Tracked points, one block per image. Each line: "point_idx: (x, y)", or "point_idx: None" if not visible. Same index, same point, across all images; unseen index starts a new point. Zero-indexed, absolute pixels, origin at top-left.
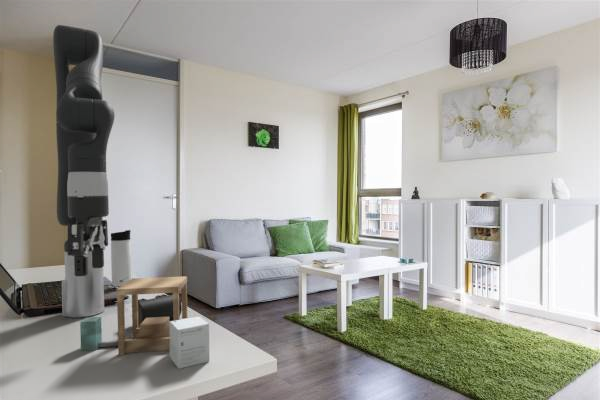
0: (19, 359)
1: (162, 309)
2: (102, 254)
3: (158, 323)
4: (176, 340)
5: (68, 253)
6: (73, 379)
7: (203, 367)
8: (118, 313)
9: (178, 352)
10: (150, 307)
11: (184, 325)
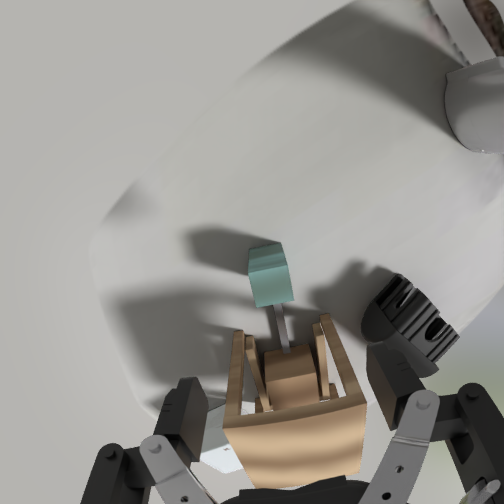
0: (196, 147)
1: None
2: (385, 418)
3: (276, 404)
4: None
5: (101, 452)
6: (140, 310)
7: None
8: (228, 386)
9: None
10: None
11: (210, 459)
